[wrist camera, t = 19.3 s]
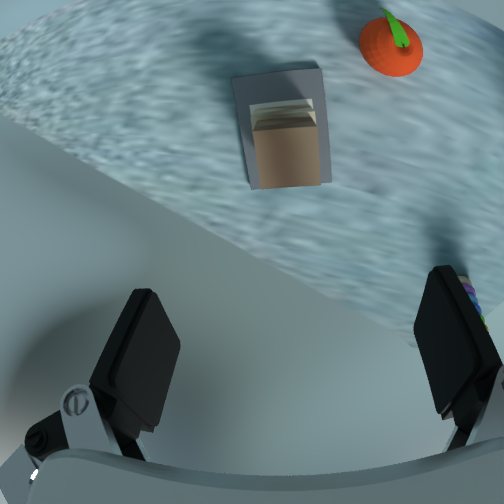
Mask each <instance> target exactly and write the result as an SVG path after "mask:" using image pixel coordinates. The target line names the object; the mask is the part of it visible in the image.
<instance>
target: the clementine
mask: <svg viewBox="0 0 504 504" xmlns="http://www.w3.org/2000/svg"><path fill="white" fill-rule="evenodd" d="M381 9H382V8H381ZM382 10H383V11H384V13H385V14H386V16H387V18H378V19H374V20H372V21H371V22H369V23H368V24H367V25H366V26H365V27H364V29H363V30H362V32H361V35H360V39H359V46H360V50H361V53H362V55H363V57H364V59H365V60H366V61H367V63H368V64H369V65H370V66H371V67H372V68H374V69H375V70H376V71H378V72H380V73H382V74H385V75H388V76H392V77H399V76H405V75H408V74H411V73H412V72H413V71H415V70H416V69H417V67H418V66H419V65H420V63H421V60H422V57H423V47H422V43H421V40H420V38H419V36H418V35H417V33H416V32H415V31H414V30H413V29H412V28H411V27H410V26H409V25H407V24H406V23H404V22H402V21H400V20H398V19H396V18H395V17H394V16H393V15H392V14H391V13H389V12H388V11H387V10H385V9H382Z"/></svg>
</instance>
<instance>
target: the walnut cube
mask: <svg viewBox="0 0 504 504" xmlns="http://www.w3.org/2000/svg"><path fill="white" fill-rule="evenodd" d="M253 138H254V145H255V152H256V159H257V166H258V173H259V181H260V188H261V189H271V188H284V187H298V186H313V185H321V181H320V161H319V144H318V130H317V125H316V124H315V122H314V120H313V119H312V117H311V116H307V117H291V118H279V119H268V120H258V121H257V122H256V124H255V127H254V129H253Z"/></svg>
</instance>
